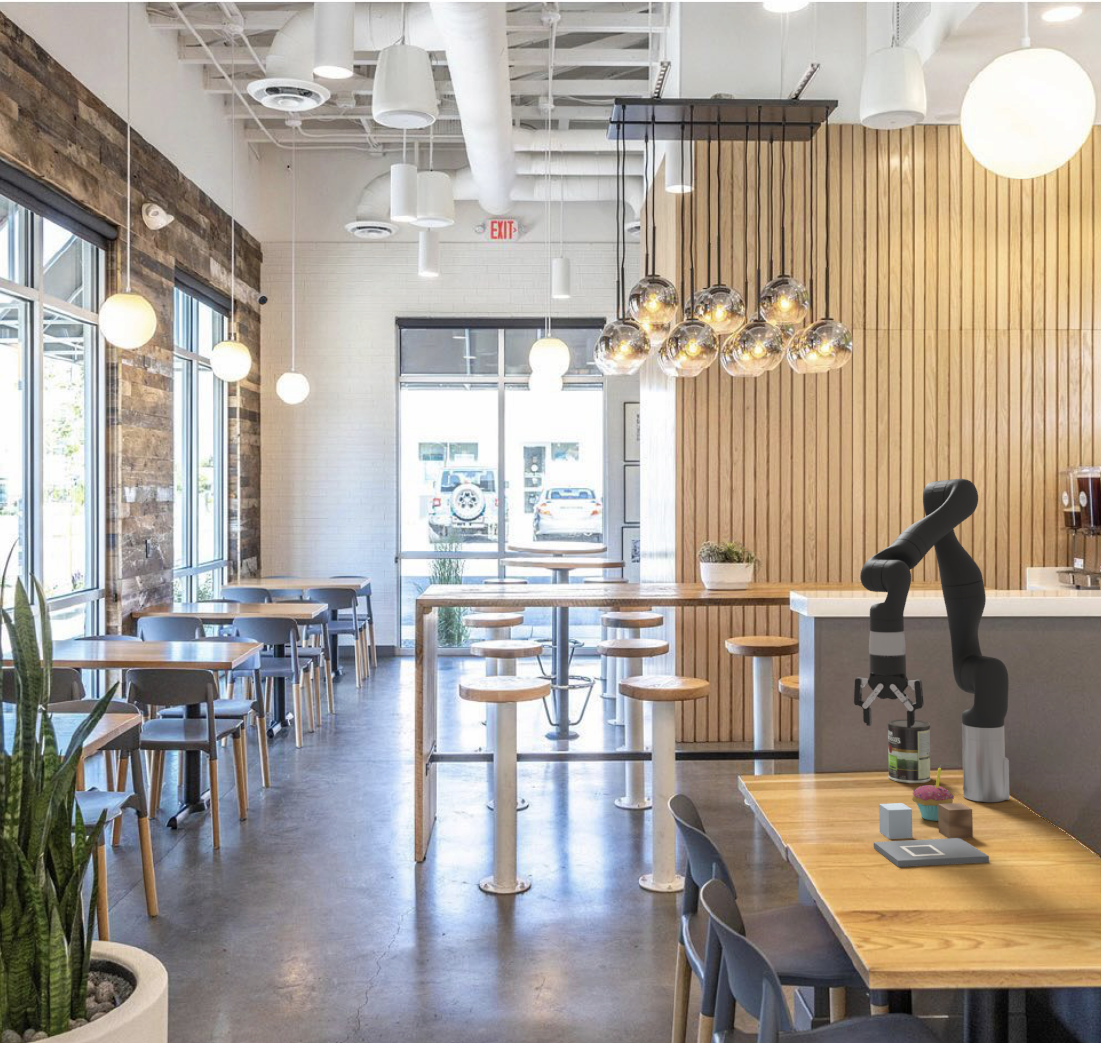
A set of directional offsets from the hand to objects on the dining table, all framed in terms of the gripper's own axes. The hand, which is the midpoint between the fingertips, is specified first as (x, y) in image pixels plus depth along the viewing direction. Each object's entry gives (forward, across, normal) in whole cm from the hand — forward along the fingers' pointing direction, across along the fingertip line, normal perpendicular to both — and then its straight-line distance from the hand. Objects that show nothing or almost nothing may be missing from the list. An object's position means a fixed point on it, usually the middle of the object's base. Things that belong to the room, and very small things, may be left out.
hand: (889, 726), depth 237 cm
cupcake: (+21, -8, -8) cm, 24 cm away
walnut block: (+21, -14, +4) cm, 25 cm away
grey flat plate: (+21, -10, +20) cm, 31 cm away
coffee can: (+21, +2, -43) cm, 48 cm away
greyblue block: (+21, -2, +9) cm, 23 cm away
